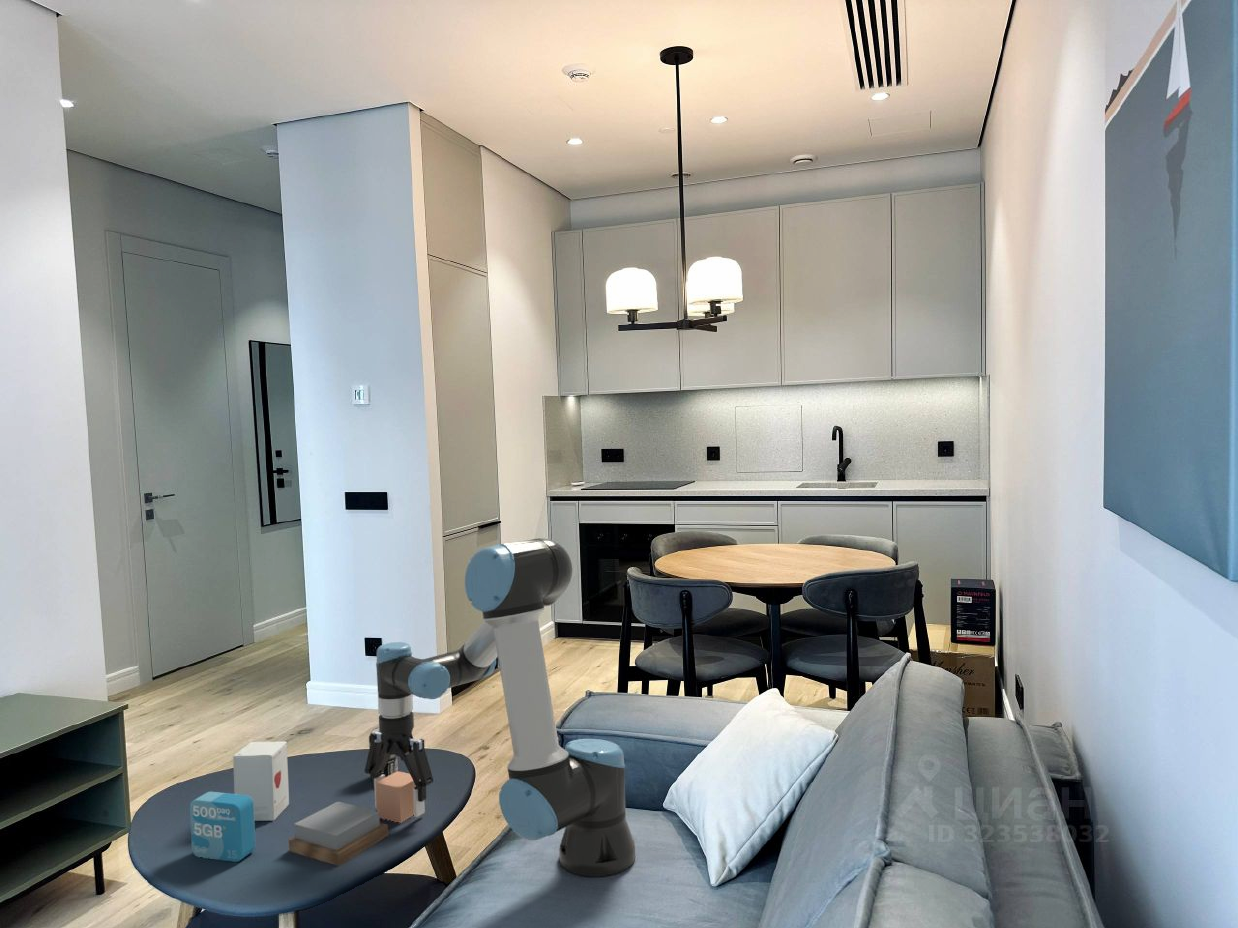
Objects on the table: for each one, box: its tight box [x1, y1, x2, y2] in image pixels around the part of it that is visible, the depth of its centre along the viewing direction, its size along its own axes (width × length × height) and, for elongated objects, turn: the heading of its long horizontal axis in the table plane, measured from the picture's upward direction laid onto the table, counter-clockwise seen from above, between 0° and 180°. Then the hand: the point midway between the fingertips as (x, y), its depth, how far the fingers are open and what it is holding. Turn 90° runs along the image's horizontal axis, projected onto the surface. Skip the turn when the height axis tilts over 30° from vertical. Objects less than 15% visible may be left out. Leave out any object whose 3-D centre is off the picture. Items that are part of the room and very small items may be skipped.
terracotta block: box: [376, 771, 421, 824], centre depth 196 cm, size 7×7×8 cm
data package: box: [189, 791, 256, 863], centre depth 179 cm, size 12×4×12 cm, turn 75°
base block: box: [288, 822, 389, 867], centre depth 183 cm, size 14×14×3 cm
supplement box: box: [232, 741, 290, 822], centre depth 199 cm, size 9×9×15 cm
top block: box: [293, 801, 381, 850], centre depth 183 cm, size 12×12×3 cm
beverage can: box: [368, 726, 399, 779], centre depth 217 cm, size 7×7×12 cm
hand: (399, 809), depth 196 cm, fingers open, 11 cm apart
